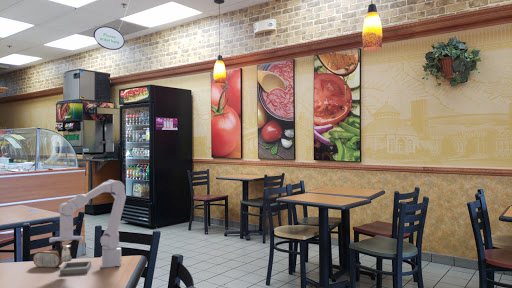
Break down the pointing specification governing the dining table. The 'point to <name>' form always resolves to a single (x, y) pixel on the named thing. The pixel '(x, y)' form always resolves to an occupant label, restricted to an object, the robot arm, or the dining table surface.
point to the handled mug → (66, 253)
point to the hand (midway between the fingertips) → (66, 256)
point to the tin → (47, 259)
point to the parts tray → (75, 268)
